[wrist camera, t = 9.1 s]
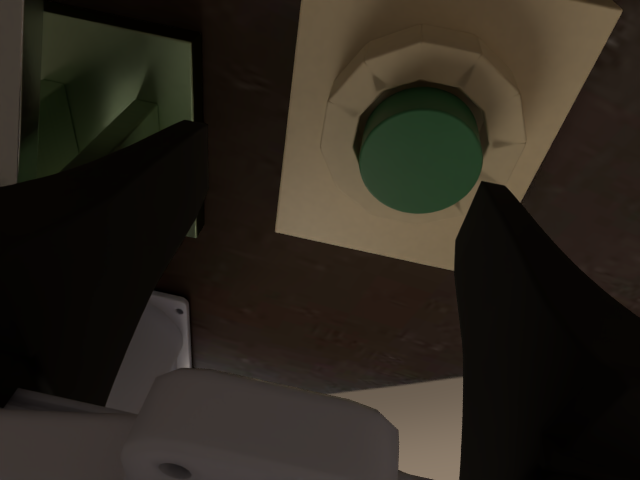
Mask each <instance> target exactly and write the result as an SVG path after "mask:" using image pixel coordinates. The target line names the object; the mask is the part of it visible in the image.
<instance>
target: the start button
mask: <svg viewBox="0 0 640 480" xmlns="http://www.w3.org/2000/svg"><path fill="white" fill-rule="evenodd" d="M482 165H483V152H482V146H481V141H480V136H479V131H478V126H477V123H476V119H475V117H474V115H473V113H472V112H471V110H470V109H469V107H468V106H467V105H466V104H465V103H464V102H463V101H462V100H461V99H460V98H458V97H457V96H455V95H453V94H452V93H450V92H447V91H445V90H442V89H438V88H433V87H414V88H409V89H405V90H402V91H399V92H397V93H395V94H393V95H391V96H389V97H388V98H386V99H385V100H383V101H382V102H381V103H380V104H379V105H378V106H377V107H376V108H375V109H374V110H373V112H372V113H371V115H370V116H369V118H368V120H367V122H366V125H365V128H364V133H363V139H362V144H361V150H360V156H359V169H360V174H361V177H362V180H363V182H364V184H365V186H366V187H367V189H368V191H369V192H370V193H371V194H372V195H373V196H374V197H375V198H376V199H377V200H378V201H380V202H381V203H383V204H384V205H386V206H388V207H390V208H392V209H395V210H397V211H401V212H405V213H413V214H424V213H432V212H436V211H440V210H443V209H446V208H448V207H450V206H452V205H454V204H455V203H457V202H459V201H460V200H461V199H463V198H464V197H465V196H466V195H467V194H468V193H469V192H470V191H471V190H472V188H473V187H474V185H475V184H476V182H477V180H478V178H479V176H480V173H481V170H482Z"/></svg>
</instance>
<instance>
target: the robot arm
mask: <svg viewBox="0 0 640 480" xmlns="http://www.w3.org/2000/svg"><path fill="white" fill-rule="evenodd" d="M208 189H209V180H208V124H204V123H199V122H194V121H189V120H183V121H180V122H178V123H175V124H173V125H171V126H169V127H167V128H165V129H163V130H161V131H159V132H157V133H155V134H152V135H150V136H148V137H146V138H144V139H142V140H140V141H138V142H136V143H134V144H132V145H130V146H127V147H125V148H123V149H121V150H118V151H116V152H113V153H111V154H109V155H106V156H104V157H102V158H99V159H97V160H95V161H92V162H89V163H87V164H84V165H81V166H78V167H75V168H72V169H69V170H66V171H62V172H59V173H56V174H53V175H49V176H45V177H41V178H37V179H33V180H29V181H24V182H20V183H16V184H12V185H7V186H2V187H0V480H432V479H428V478H423V477H418V476H414V475H410V474H407V473H404V472H402V471H400V470H398V458H399V434H398V429H396V427H394V426H393V425H392V424H391V423H390V422H389V421H388V420H387V419H386V418H385V417H384V416H383V415H382V414H380V412H379V411H377V410H376V409H373V408H371V407H368V406H365V405H363V404H360V403H358V402H355V401H352V400H349V399H345V398H340V397H336V396H331V395H327V394H322V393H318V392H313V391H308V390H304V389H299V388H295V387H290V386H285V385H281V384H276V383H272V382H267V381H263V380H258V379H253V378H249V377H244V376H240V375H235V374H230V373H226V372H221V371H217V370H212V369H199V368H192V358H191V338H190V317H189V303H188V301H187V300H186V299H185V298H184V297H181V296H176V295H172V294H167V293H162V292H158V291H153V290H154V288H155V287H156V285H157V283H158V281H159V279H160V277H161V276H162V274H163V272H164V271H165V269H166V268H167V266H168V264H169V263H170V261H171V259H172V258H173V256H174V254H175V253H176V251H177V250H178V248H179V246H180V245H181V243H182V241H183V240H184V238H185V236H186V235H187V233H188V231H189V230H190V228H191V226H192V225H193V223H194V221H195V220H196V218H197V216H198V213H199V211H200V209H201V206H202V204H203V201H204V199H205V196H206V194H207V191H208ZM454 276H455V286H456V295H457V303H458V312H459V320H460V328H461V337H462V348H463V417H462V444H461V462H460V463H461V464H460V477H459V480H640V318H639V317H638V316H636V315H635V314H634V313H632V312H631V311H630V310H628V309H627V308H626V307H624V306H623V305H622V304H620V303H619V302H618V301H616V300H615V299H614V298H613V297H611V296H610V295H609V294H608V293H606V292H605V291H604V290H603V289H602V288H601V287H599V286H598V285H597V284H596V283H595V282H594V281H593V280H591V279H590V278H589V277H588V276H587V275H586V274H585V273H584V272H582V271H581V270H580V269H579V268H578V267H577V266H576V265H575V264H574V263H573V262H572V261H571V260H570V259H569V258H568V257H567V256H566V255H565V254H564V253H563V252H562V251H561V249H560V248H559V247H558V246H557V245H556V244H555V243H554V242H553V241H552V240H551V239H550V237H549V236H548V235H547V234H546V233H545V232H544V231H543V229H542V228H541V227H540V226H539V225H538V224H537V222H536V221H535V220H534V219H533V218H532V216H531V215H530V214H529V213H528V212H527V210H526V209H525V208H524V207H523V205H522V204H521V203H520V202H519V201H518V199H517V198H516V197H515V196H514V195H513V194H512V192H511V191H510V190H509V189H508V188H507V187H506V186H505V185H500V184H495V183H490V182H485V181H481V183H480V185H479V187H478V189H477V192H476V194H475V196H474V199H473V201H472V203H471V205H470V208H469V210H468V212H467V214H466V217H465V219H464V221H463V224H462V226H461V228H460V230H459V233H458V235H457V237H456V239H455V256H454Z"/></svg>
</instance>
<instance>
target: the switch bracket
mask: <svg viewBox="0 0 640 480" xmlns="http://www.w3.org/2000/svg"><path fill="white" fill-rule="evenodd" d="M183 120H189V121H194V122H199V123H203V103H202V35H201V33H199V32H194V31H189V30H184V29H180V28H175V27H170V26H165V25H160V24H156V23H151V22H146V21H141V20H137V19H132V18H127V17H122V16H117V15H113V14H108V13H103V12H98V11H94V10H89V9H84V8H79V7H74V6H70V5H65V4H60V3H55V2H51V1H46V0H44V12H43V36H42V61H41V85H40V110H39V135H38V159H37V178H41V177H45V176H49V175H53V174H56V173H59V172H62V171H66V170H69V169H72V168H75V167H78V166H81V165H84V164H87V163H89V162H92V161H95V160H97V159H99V158H102V157H104V156H106V155H109V154H111V153H113V152H116V151H118V150H121V149H123V148H125V147H127V146H130V145H132V144H134V143H136V142H138V141H140V140H142V139H144V138H146V137H148V136H150V135H152V134H155V133H157V132H159V131H161V130H163V129H165V128H167V127H169V126H171V125H173V124H175V123H178V122H180V121H183ZM203 226H204V201H203V204H202V206H201V209H200V211H199V213H198V216H197V218H196V220H195V221H194V223H193V225H192V226H191V228H190V230H189V231H188V233H187V235H186V236H188V237H193V238H197V237H198V235H199V233H200V231H201V230H202V228H203Z"/></svg>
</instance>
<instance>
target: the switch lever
mask: <svg viewBox="0 0 640 480" xmlns="http://www.w3.org/2000/svg"><path fill="white" fill-rule="evenodd" d="M43 12H44V0H0V187H2V186H7V185H12V184H16V183H20V182H24V181H29V180H33V179H37V159H38V135H39V110H40V85H41V61H42V36H43Z"/></svg>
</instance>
